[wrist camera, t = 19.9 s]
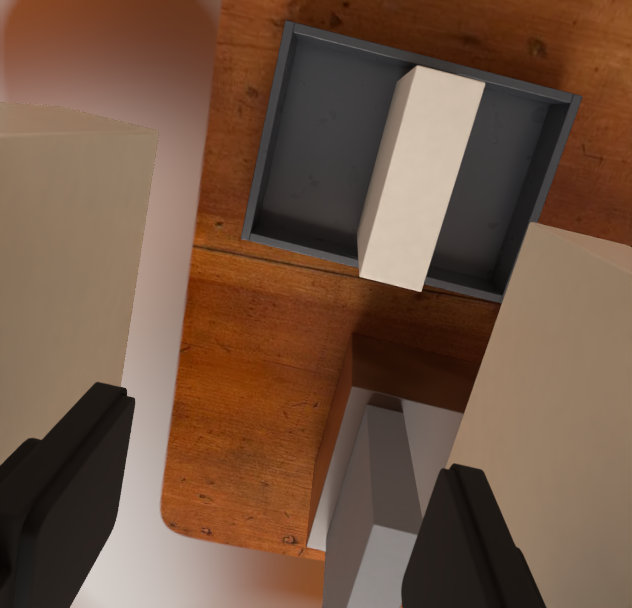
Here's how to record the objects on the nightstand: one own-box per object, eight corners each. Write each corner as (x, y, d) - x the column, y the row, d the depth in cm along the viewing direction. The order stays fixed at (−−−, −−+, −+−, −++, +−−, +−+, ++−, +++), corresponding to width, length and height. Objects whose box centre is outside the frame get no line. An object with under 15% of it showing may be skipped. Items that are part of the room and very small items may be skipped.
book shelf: (313, 468, 52) (305, 547, 42) (351, 332, 48) (351, 385, 38) (535, 521, 52) (576, 612, 43) (590, 391, 48) (649, 458, 39)
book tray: (251, 227, 46) (240, 238, 41) (292, 30, 41) (285, 19, 37) (492, 286, 46) (508, 305, 41) (557, 98, 42) (583, 96, 37)
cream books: (23, 438, 20) (-400, 853, 9) (57, 105, 17) (-540, 62, 5) (507, 549, 21) (715, 1084, 9) (628, 245, 17) (1182, 476, 6)
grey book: (326, 540, 42) (316, 698, 30) (366, 403, 39) (373, 523, 27) (360, 548, 42) (364, 709, 31) (403, 413, 39) (426, 536, 27)
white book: (356, 233, 45) (358, 277, 32) (396, 80, 41) (416, 64, 29) (401, 244, 45) (421, 292, 32) (445, 93, 41) (486, 82, 29)
